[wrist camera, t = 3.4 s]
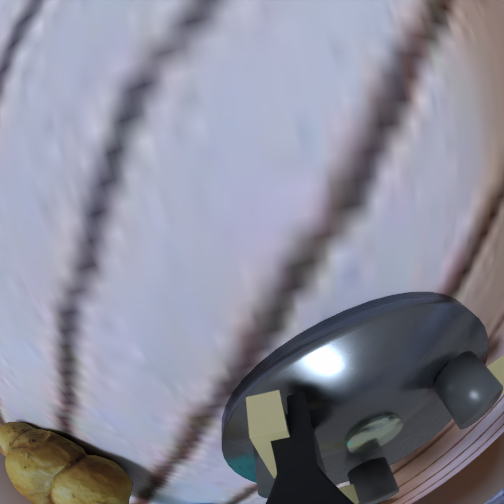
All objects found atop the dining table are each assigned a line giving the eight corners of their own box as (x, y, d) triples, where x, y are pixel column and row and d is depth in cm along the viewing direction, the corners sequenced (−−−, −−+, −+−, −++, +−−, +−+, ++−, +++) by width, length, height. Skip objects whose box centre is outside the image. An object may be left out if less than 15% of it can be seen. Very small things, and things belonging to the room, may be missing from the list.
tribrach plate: (497, 251, 12) (521, 266, 10) (444, 425, 18) (453, 440, 16) (170, 349, 12) (163, 383, 10) (257, 487, 18) (260, 507, 17)
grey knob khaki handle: (388, 452, 15) (402, 484, 12) (383, 467, 16) (395, 496, 13) (294, 481, 15) (301, 517, 12) (299, 493, 16) (305, 524, 13)
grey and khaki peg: (316, 442, 13) (329, 489, 10) (260, 455, 13) (266, 502, 10) (299, 360, 10) (320, 426, 7) (219, 379, 10) (219, 447, 7)
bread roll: (8, 427, 15) (-17, 484, 8) (6, 383, 13) (-36, 461, 5) (121, 488, 19) (111, 549, 11) (155, 466, 16) (147, 552, 9)
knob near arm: (429, 399, 13) (452, 436, 10) (439, 365, 12) (469, 405, 9) (503, 354, 13) (528, 380, 10) (516, 318, 12) (545, 344, 9)
